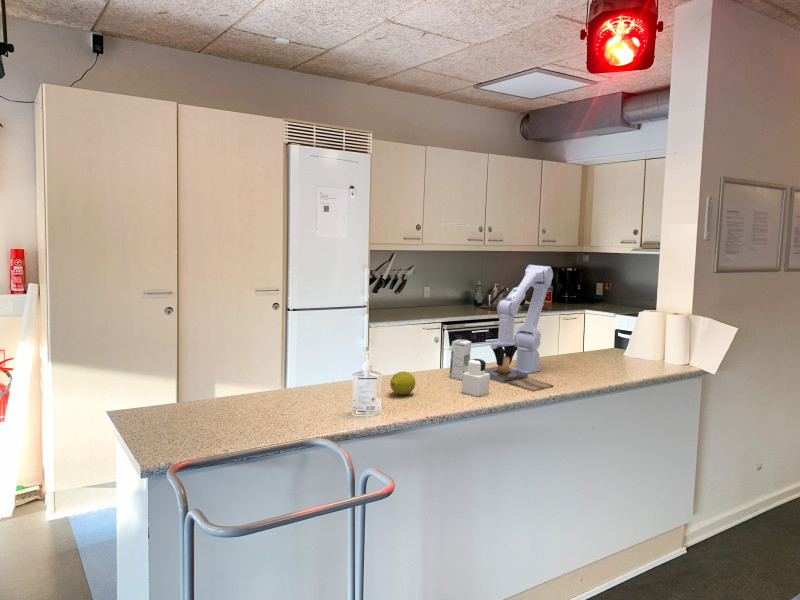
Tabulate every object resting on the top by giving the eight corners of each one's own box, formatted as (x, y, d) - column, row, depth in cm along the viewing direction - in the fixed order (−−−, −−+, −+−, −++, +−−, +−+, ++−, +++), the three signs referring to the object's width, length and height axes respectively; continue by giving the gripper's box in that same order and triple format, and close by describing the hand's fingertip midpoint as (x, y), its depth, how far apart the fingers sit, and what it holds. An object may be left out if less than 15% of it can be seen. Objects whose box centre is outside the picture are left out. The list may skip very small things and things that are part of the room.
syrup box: (455, 374, 240) (457, 338, 238) (469, 377, 237) (471, 340, 236) (449, 377, 236) (451, 341, 234) (463, 380, 233) (465, 343, 231)
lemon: (405, 389, 217) (406, 367, 216) (420, 394, 211) (421, 372, 210) (382, 394, 210) (383, 371, 209) (397, 400, 204) (398, 376, 203)
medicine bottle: (472, 388, 221) (474, 356, 220) (489, 393, 217) (491, 360, 215) (461, 392, 216) (463, 359, 214) (478, 397, 212) (480, 363, 210)
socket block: (500, 370, 250) (501, 365, 250) (527, 378, 240) (528, 373, 239) (477, 375, 241) (477, 370, 241) (504, 383, 231) (504, 378, 231)
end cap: (502, 369, 244) (503, 355, 243) (511, 372, 240) (512, 357, 239) (495, 371, 241) (496, 356, 240) (503, 373, 237) (504, 358, 237)
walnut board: (528, 379, 238) (528, 377, 238) (553, 386, 229) (553, 385, 229) (507, 383, 231) (508, 382, 231) (533, 391, 222) (533, 389, 221)
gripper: (501, 334, 231) (499, 369, 232) (526, 330, 240) (523, 364, 242) (487, 330, 236) (485, 365, 238) (512, 327, 245) (509, 360, 247)
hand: (503, 364), depth 240 cm, fingers closed on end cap, 4 cm apart
